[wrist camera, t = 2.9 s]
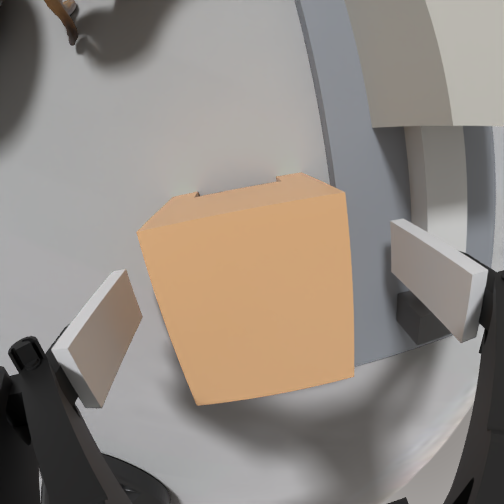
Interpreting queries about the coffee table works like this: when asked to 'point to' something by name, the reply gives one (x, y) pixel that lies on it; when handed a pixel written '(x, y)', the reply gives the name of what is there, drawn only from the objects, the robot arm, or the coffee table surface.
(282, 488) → the coffee table surface
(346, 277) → the block
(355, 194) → the rail board
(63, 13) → the lion figurine
